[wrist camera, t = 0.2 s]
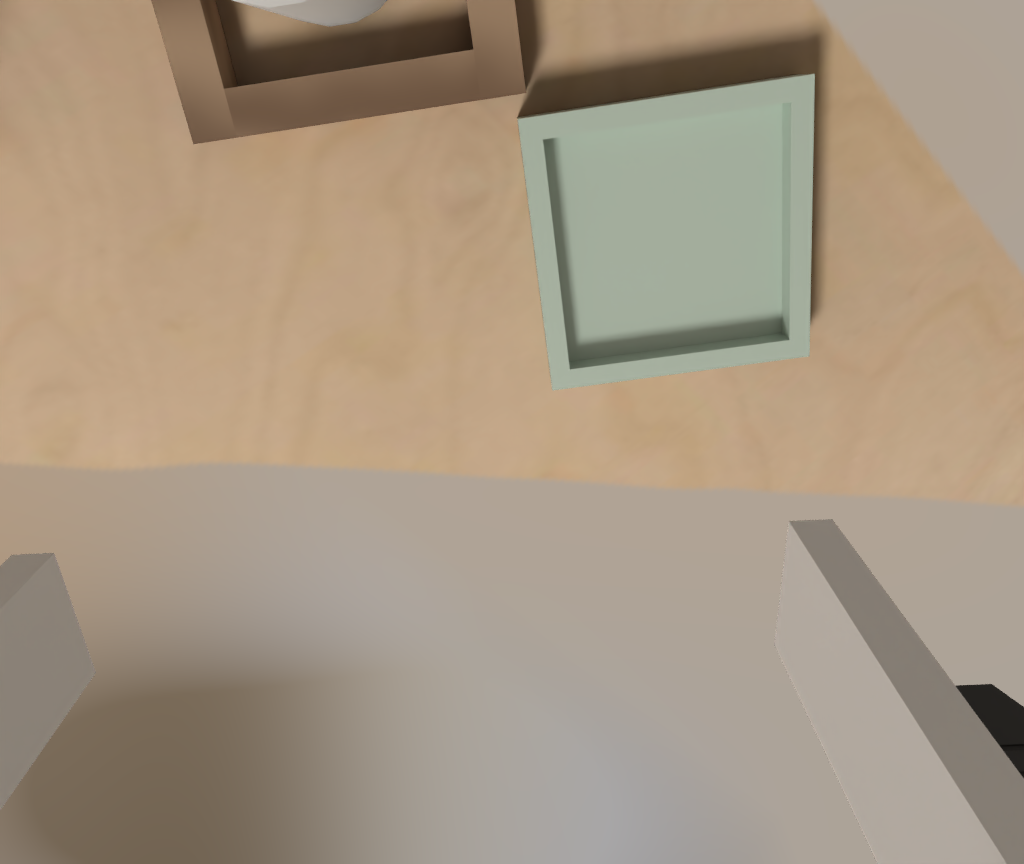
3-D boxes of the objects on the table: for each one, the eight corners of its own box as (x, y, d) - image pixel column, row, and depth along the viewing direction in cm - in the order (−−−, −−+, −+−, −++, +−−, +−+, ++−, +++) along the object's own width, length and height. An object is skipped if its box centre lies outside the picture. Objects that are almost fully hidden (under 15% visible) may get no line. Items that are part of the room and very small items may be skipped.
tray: (517, 117, 36) (517, 118, 34) (799, 74, 35) (814, 73, 33) (550, 376, 41) (552, 390, 39) (795, 343, 41) (809, 356, 39)
